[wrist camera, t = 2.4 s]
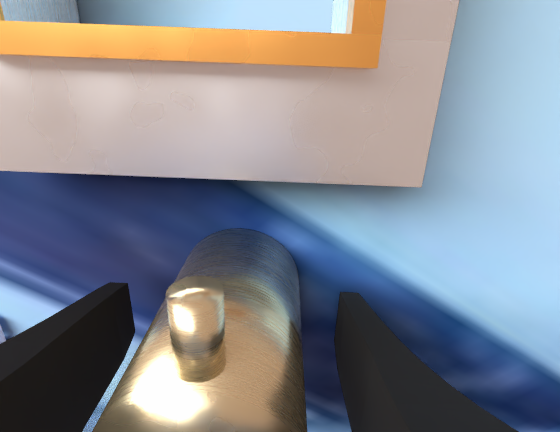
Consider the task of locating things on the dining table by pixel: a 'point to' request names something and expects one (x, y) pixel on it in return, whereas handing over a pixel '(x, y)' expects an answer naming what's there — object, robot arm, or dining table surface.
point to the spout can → (220, 346)
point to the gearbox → (225, 95)
